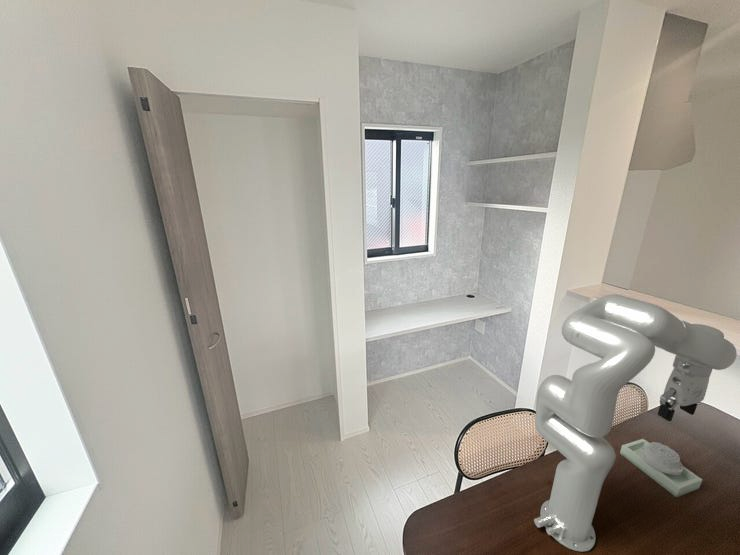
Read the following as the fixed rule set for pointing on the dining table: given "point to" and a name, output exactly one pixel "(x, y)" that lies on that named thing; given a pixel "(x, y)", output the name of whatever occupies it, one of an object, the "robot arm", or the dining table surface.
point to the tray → (670, 482)
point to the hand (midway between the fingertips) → (675, 414)
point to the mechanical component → (662, 458)
